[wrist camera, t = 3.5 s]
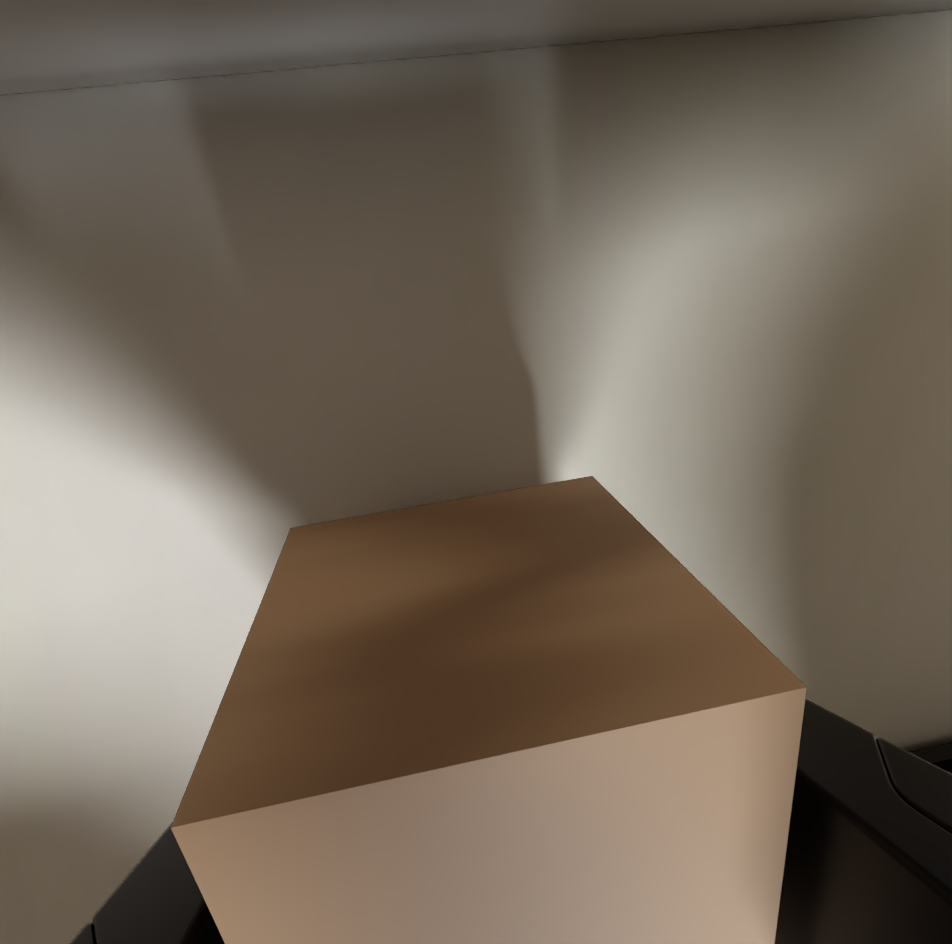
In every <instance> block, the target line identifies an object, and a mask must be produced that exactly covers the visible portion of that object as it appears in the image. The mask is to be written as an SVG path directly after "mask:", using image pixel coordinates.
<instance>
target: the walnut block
mask: <svg viewBox="0 0 952 944" xmlns="http://www.w3.org/2000/svg"><path fill="white" fill-rule="evenodd" d="M806 690H807V687H806V686H805V685H804V684H803V683H802V682H801V681H800V680H799V679H798V678H797V677H796V676H795V675H794V674H793V673H792V672H791V671H790V670H789V669H788V668H787V667H786V666H785V665H784V664H783V663H782V662H781V661H780V660H778V659H777V658H776V657H775V656H774V655H773V654H772V653H771V652H770V651H769V650H768V649H767V648H766V647H765V646H764V645H763V644H762V643H761V642H760V641H759V640H758V639H757V638H756V637H755V636H754V635H753V634H752V633H751V632H750V631H749V630H748V629H747V628H746V627H745V626H744V625H743V624H742V623H741V622H740V621H739V620H738V619H737V618H736V617H735V616H734V615H733V614H732V613H731V612H730V611H729V610H728V609H727V608H726V607H725V606H724V605H723V604H722V603H721V602H720V601H719V600H718V599H717V598H716V597H714V596H713V595H712V594H711V593H710V592H709V591H708V590H707V589H706V588H705V587H704V586H703V585H702V584H701V583H700V582H699V581H698V580H697V579H696V578H695V577H694V576H693V575H692V574H691V573H690V572H689V571H688V570H687V569H686V568H685V567H684V566H683V565H682V564H681V563H680V562H679V561H678V560H677V559H676V558H675V557H674V556H673V555H672V554H671V553H670V552H669V551H668V550H667V549H666V548H665V547H664V546H663V545H662V544H661V543H660V542H659V541H658V540H657V539H656V538H655V537H654V536H653V535H651V534H650V533H649V532H648V531H647V530H646V529H645V528H644V527H643V526H642V525H641V524H640V523H639V522H638V521H637V520H636V519H635V518H634V517H633V516H632V515H631V514H630V513H629V512H628V511H627V510H626V509H625V508H624V507H623V506H622V505H621V504H620V503H619V502H618V501H617V500H616V499H615V498H614V497H613V496H612V495H611V494H610V493H609V492H608V491H607V490H606V489H605V488H604V487H603V486H602V485H601V484H600V483H599V482H598V481H597V480H596V479H595V478H594V477H593V476H590V477H584V478H578V479H573V480H567V481H561V482H555V483H549V484H544V485H538V486H532V487H526V488H520V489H514V490H509V491H503V492H497V493H491V494H485V495H480V496H474V497H468V498H462V499H456V500H451V501H445V502H439V503H433V504H427V505H422V506H416V507H410V508H404V509H398V510H393V511H387V512H381V513H375V514H369V515H364V516H358V517H352V518H346V519H340V520H335V521H329V522H323V523H317V524H311V525H306V526H300V527H294V528H291V529H290V531H289V534H288V536H287V539H286V541H285V544H284V546H283V549H282V551H281V554H280V556H279V559H278V561H277V564H276V566H275V569H274V571H273V574H272V576H271V579H270V581H269V584H268V586H267V589H266V591H265V594H264V596H263V599H262V601H261V604H260V606H259V609H258V611H257V614H256V616H255V619H254V621H253V624H252V626H251V629H250V631H249V634H248V636H247V639H246V641H245V644H244V646H243V649H242V651H241V654H240V656H239V659H238V661H237V664H236V666H235V669H234V671H233V674H232V676H231V679H230V681H229V684H228V686H227V689H226V691H225V694H224V696H223V699H222V701H221V704H220V706H219V709H218V711H217V714H216V716H215V719H214V721H213V724H212V726H211V729H210V731H209V734H208V736H207V739H206V741H205V744H204V746H203V749H202V751H201V754H200V756H199V759H198V761H197V764H196V766H195V769H194V771H193V774H192V776H191V779H190V781H189V783H188V786H187V788H186V791H185V793H184V796H183V798H182V801H181V803H180V806H179V808H178V811H177V813H176V816H175V818H174V821H173V823H172V826H171V829H172V832H173V834H174V836H175V838H176V840H177V842H178V844H179V847H180V849H181V851H182V853H183V855H184V857H185V859H186V862H187V864H188V866H189V868H190V870H191V872H192V874H193V876H194V879H195V881H196V883H197V885H198V887H199V889H200V891H201V894H202V896H203V898H204V900H205V902H206V904H207V906H208V908H209V911H210V913H211V915H212V917H213V919H214V921H215V923H216V926H217V928H218V930H219V932H220V934H221V936H222V938H223V940H224V943H225V944H774V943H775V935H776V928H777V920H778V912H779V904H780V896H781V888H782V880H783V872H784V864H785V856H786V848H787V840H788V832H789V825H790V817H791V809H792V801H793V793H794V785H795V777H796V769H797V761H798V753H799V745H800V737H801V729H802V722H803V714H804V706H805V698H806Z"/></svg>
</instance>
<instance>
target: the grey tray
mask: <svg viewBox="0 0 952 944" xmlns="http://www.w3.org/2000/svg"><path fill="white" fill-rule="evenodd" d="M943 10H952V0H0V95H5V94H17V93H28V92H39V91H50V90H61V89H72V88H84V87H95V86H106V85H117V84H128V83H139V82H150V81H162V80H173V79H184V78H195V77H206V76H217V75H229V74H240V73H251V72H262V71H273V70H284V69H296V68H307V67H318V66H329V65H340V64H351V63H363V62H374V61H385V60H396V59H407V58H418V57H429V56H441V55H452V54H463V53H474V52H485V51H496V50H508V49H519V48H530V47H541V46H552V45H563V44H575V43H586V42H597V41H608V40H619V39H630V38H641V37H653V36H664V35H675V34H686V33H697V32H708V31H720V30H731V29H742V28H753V27H764V26H775V25H787V24H798V23H809V22H820V21H831V20H842V19H853V18H865V17H876V16H887V15H898V14H909V13H920V12H932V11H943Z"/></svg>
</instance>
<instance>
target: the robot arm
mask: <svg viewBox="0 0 952 944" xmlns="http://www.w3.org/2000/svg"><path fill="white" fill-rule="evenodd" d="M172 823H173V822H172ZM172 823H171V824H170V826H169V827H168V828H167V829H166V830H165V832H164V833H163V834H162V835H161V836H160V837H159V839H158V840H157V841H156V842H155V843H154V845H153V846H152V847H151V848H150V849H149V851H148V852H147V853H146V854H145V855H144V856H143V858H142V859H141V860H140V861H139V862H138V864H137V865H136V866H135V867H134V868H133V869H132V871H131V872H130V873H129V874H128V875H127V877H126V878H125V879H124V880H123V881H122V882H121V884H120V885H119V886H118V887H117V888H116V890H115V891H114V892H113V893H112V894H111V896H110V897H109V898H108V899H107V900H106V901H105V903H104V904H103V905H102V906H101V907H100V909H99V910H98V911H97V912H96V913H95V914H94V916H93V923H87V924H86V925H85V926H84V927H83V928H82V930H81V931H80V932H79V933H78V934H77V935H76V937H75V938H74V939H73V940H72V941H71V943H70V944H225V943H224V940H223V938H222V936H221V934H220V932H219V930H218V928H217V926H216V923H215V921H214V919H213V917H212V915H211V913H210V911H209V908H208V906H207V904H206V902H205V900H204V898H203V896H202V894H201V891H200V889H199V887H198V885H197V883H196V881H195V879H194V876H193V874H192V872H191V870H190V868H189V866H188V864H187V862H186V859H185V857H184V855H183V853H182V851H181V849H180V847H179V844H178V842H177V840H176V838H175V836H174V834H173V832H172V829H171V826H172ZM774 944H952V743H949V744H945V745H940V746H936V747H932V748H928V749H924V750H919V751H915V752H911V753H909V752H907V751H905V750H903V749H902V748H900V747H898V746H896V745H894V744H892V743H890V742H888V741H886V740H884V739H882V738H878V739H876V737H875V736H874V734H872V733H870V732H868V731H866V730H865V729H863V728H861V727H859V726H857V725H855V724H853V723H851V722H849V721H847V720H845V719H843V718H841V717H840V716H838V715H836V714H834V713H832V712H830V711H828V710H826V709H824V708H822V707H820V706H818V705H816V704H815V703H813V702H811V701H809V700H807V699H805V706H804V714H803V722H802V729H801V737H800V745H799V753H798V761H797V769H796V777H795V785H794V793H793V801H792V809H791V817H790V825H789V832H788V840H787V848H786V856H785V864H784V872H783V880H782V888H781V896H780V904H779V912H778V920H777V928H776V935H775V943H774Z"/></svg>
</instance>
